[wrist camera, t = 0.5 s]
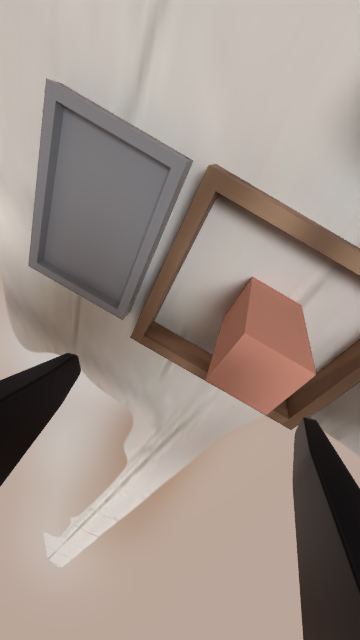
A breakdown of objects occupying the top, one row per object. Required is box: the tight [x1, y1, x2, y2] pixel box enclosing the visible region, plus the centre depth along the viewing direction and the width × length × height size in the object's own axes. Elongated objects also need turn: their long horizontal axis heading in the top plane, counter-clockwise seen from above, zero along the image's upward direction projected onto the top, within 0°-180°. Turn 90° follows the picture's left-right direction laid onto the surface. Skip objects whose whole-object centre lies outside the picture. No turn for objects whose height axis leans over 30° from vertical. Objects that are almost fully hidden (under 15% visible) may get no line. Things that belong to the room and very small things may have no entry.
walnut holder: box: [130, 164, 360, 430], centre depth 21 cm, size 17×15×2 cm
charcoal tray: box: [29, 78, 193, 320], centre depth 21 cm, size 10×14×2 cm
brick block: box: [205, 277, 316, 415], centre depth 18 cm, size 4×4×8 cm
